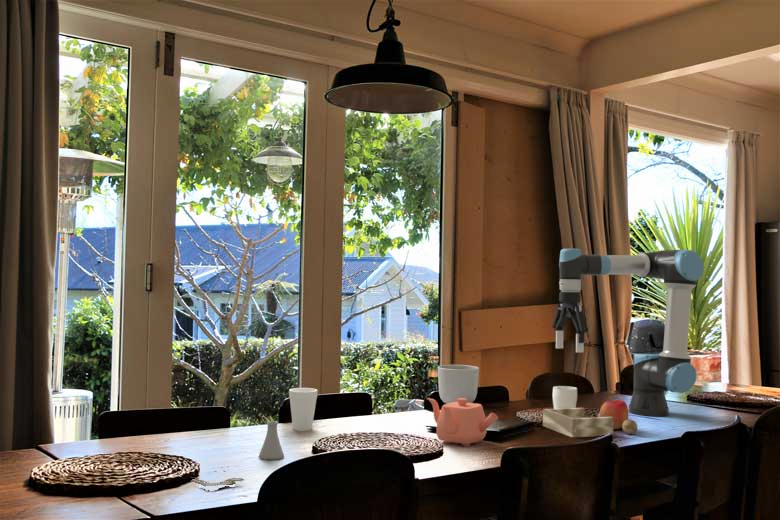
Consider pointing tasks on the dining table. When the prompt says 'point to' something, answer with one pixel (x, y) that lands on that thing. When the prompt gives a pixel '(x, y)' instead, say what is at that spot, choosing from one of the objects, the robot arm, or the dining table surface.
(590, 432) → the beige shallow open box
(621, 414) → the apple
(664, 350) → the robot arm
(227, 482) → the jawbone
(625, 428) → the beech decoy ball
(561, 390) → the cup
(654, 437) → the dining table surface
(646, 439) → the dining table surface
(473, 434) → the teapot
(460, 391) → the planter
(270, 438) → the flask
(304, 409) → the foam cup
